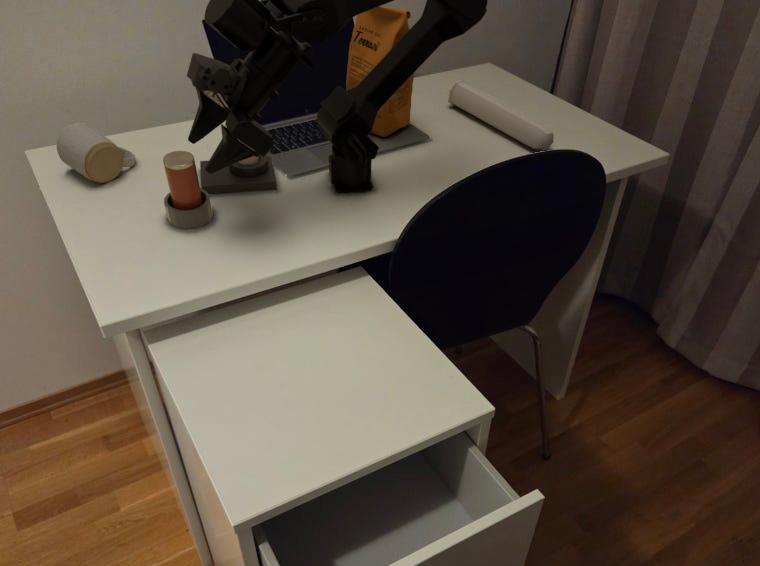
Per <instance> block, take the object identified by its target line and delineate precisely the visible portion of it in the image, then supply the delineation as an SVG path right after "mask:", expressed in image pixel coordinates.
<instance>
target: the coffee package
mask: <svg viewBox="0 0 760 566" xmlns="http://www.w3.org/2000/svg"><path fill="white" fill-rule="evenodd" d="M411 17H412V16H411V12H410V10H408V9H404V8H394V7H388V6H379V7H376V8H374V9H371V10H368V11H366V12H363V13H361V14H358V15H356V18H355V23H354V27H353V30H352V35H351V38H350V43H349V49H348V58H347V66H346V67H347V68H346V79H345V91H346V90H349V89H352V88H354V87H356V86H357V85H358V84H359V83H360V82H361V81H362V80H363V79H364V78H365V77H366V76H367V75H368V74H369V73H370V72H371V71H372V70H373V68H374V67H375V66H376V65H377V64H378V63H379V62H380V61H381V60H382V59H383V58H384V57H385V56H386V55H387V53H388V52H389V51H390V50H391V49H392V48H393V47H394V46H395V45H396V44H397V43H398V42H399V41H400V40H401V38H402V37H403V36H404V35H405V34H406V33H407V32H408V31H409V30H410V29H411V28H410V26H409V19H411ZM414 79H415V72H414V73H413V74H412V75H411V77H410V78H409V79H408V80H407V81H406V82H405V83H404V84H403V85H402V86H401V87H400V88H399V89H398V90H397V91H396V92H395V93H394V94H393V95H392V96H391V98H390V99H389V100H388V101H387V102H386V103H385V104H384V105H383V106H382V107H381V108H380V109H379V111H378V112H377V116H376V119H375V122H374V125H373V128H372V130H371V132H370V133H369V134H373V135H375V136H379V137H382V138H385V137H389V135H391V134H393V133H395V132H397V131H398V130H399V129H401V128H406V127H407V125H409V124H410V123H411V111H412V95H413V89H414V87H413V86H414V85H413V84H414V81H415V80H414Z"/></svg>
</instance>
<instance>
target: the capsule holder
mask: <svg viewBox="0 0 760 566" xmlns="http://www.w3.org/2000/svg"><path fill="white" fill-rule="evenodd" d="M200 191H201V196H202V202H203V205H202V206H200V207H198V208H195V209H192V210H178V209H175V208H174V206H173V202H172V198H171V193H170V192H168V193H167V194H166V195H165V197H164V198H163V206H164V209H165V214H166V217H167V221H168V222H169V223H170V225H172V226H173V227H174V228H177V229H181V230H194V229H199V228H203V227H204V226H206V225H208V224H209V223H210V222H211V221H212V219H213V217H214V213H213V212H214V211H213V207H212V200H211V194H208V193H207V192H206V191H205V190H202V188H200Z"/></svg>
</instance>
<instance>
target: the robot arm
mask: <svg viewBox="0 0 760 566" xmlns="http://www.w3.org/2000/svg"><path fill="white" fill-rule="evenodd" d="M394 1H395V0H209V1H208V3H207V4H206V8H205V11H204V22H205V23H206V24H207V25H209V26H210V27H211V28H212V29H213V30H214V31H215V32H217V33H218V34H219V35H220V36H222V37H223V38H224V39H225V40H226V41H227V42H229V44H231V45H232V46H233V47H235V48H236V49H237V50H238V51H239V52H246V51H249V53H248V54H247V55H246V56H245V58H244V59H241V58H240V57H237V58H234V60H233V61H232V62H231V63H230V64H227V63H226V62H223V61H220V60H218V59H215V58H212V57H209V56H206V55H204V54H201V53H196V52H193V53H192V55H191V58H190V62H189V65H188V70H187V73H186V77H187V78H188V79H190V81H191V85H192V86H193V87H194V88H195V91H196V94H197V99H198V107H197V110H196V113H195V117H194V119H193V122H192V125H191V127H190V128H191V129H190V131H189V134H188V137H187V140H188V142H189V143H191V144H192V145H195V144H197V143H198V142H200V141H201V140H202V139H204V138H205V137H206V136H207V135H209V134H210V133H212V132H213V131H214V130H216V129H217V128H218V127H219V126H220V129H221V130H220V131H221V137H222V138H221V139H220V142H219V143H218V145H217V147H216V148H215V150H214V152H213V153H212V155H211V157H210V158H209V159H208V161H209V162H208V164H207V166H206V168H205V170H206V171H207V172H209V173H210V174H212V173H215V172H217V171H219V170H221V169H223V168H225V167H228V166H230V165H232V164H234V163H237V162H239V161H242V160H245V159H247V158H250V157H253V156H255V157H259V156H260V155H261V156H263V157H266V155H267V156H268V154H269V153H270V152H271V150H272V149H273V148H274V142H273V137H272V136H271V134H270V133H269V132H268V131H267V129H266V128H265V127H264V126H263V125H262V124H260V122H261V121H262V119H263V117H262V115H260V112H261V111H262V110H263V108H264V107H265V106H266V105H267V103H268V102H269V101H270V99H272V100H273V101H274V102H276V101H277V100H278V99H279V98H280V96H281V95H280V94H279V93H278V92H277V90H278V89H279V87H280V86H281V85H282V84H283V82H284V81H285V80H286V79H287V77H288V76H289V74H290V73H291V72H292V70H294V68H295V67H296V66H297V64H298V63H299V62H300V61H301V62H302V63H303V64H304V65H305V66H306V67H308V69H313V68H314V67H315V66H314V59H313V47H312V46H311V45H310V44H313V45H315V44H319V43H322V42H324V41H326V40H327V39H328V38H331V37H332V36H333V35H335V34H336V33H338V32H340V31H341V30H342V29H343V28H344V26H345V25H346V24H347V23H348V22H349V21H350V20H351V19H353V18H355V17H357V15H358V14H361V13H363V12H366V11H368V10H371V9H374V8H376V7H379V6H380V7H382V6H384V5H386V4H389V3H391V2H394ZM488 1H489V0H426V2H425V4H424V7H423V11H422V13H421V17H420V18H419V19H418V20H417V21H416V22H415V23H414V25H412V26H411V27H410V28H409V29H410V30H409V31H408V32H407V33H406V34H405V35H404V36H403V37H402V38H401V40H400V41H399V42H398V43H397V44H396V45H395V46H394V47H393V48H392V49H391V50H390V51H389V52H388V53H387V55H386V56H385V57H384V58H383V59H382V60H381V61H380V62H379V63H378V64H377V65H376V66H375V67H374V68H373V70H372V71H371V72H370V73H369V74H368V75H367V76H366V77H365V78H364V79H363V80H362V81H361V82H360V83H359V84H358V85H357V86H356V87H354V88H352V89H349V90H346V89H344V88H343V87H342V86H341V85H337V86H336V87H335V88H334V89H333V90H332V91H331V94H330V95H329V96H328V97H327V98H325V100H322V101H321V102H320V105H321V107H320V109H319V110H318V112H317V113H316V124H317V128H318V130H319V131H320V132H321V134H322V135H323V136H324V137H325V138H326V139H327V140H328V142H329V143H330V144H331V154H329V155H328V178H329V181H330V184H331V185H333V188H334V191H335V193H336V194H343V193H357V192H370V191H373V190H374V185H373V183H372V162H373V161H372V160H375V159H376V158H377V154H378V151H379V149H380V147H379V145H378V144H376V143H375V141H374V140H373V139H372V138H371V137H370V136H369V135H370V134H371V133H370V132H371V130H372V128H373V125H374V122H375V119H376V116H377V112H378V111H379V109H380V108H381V107H382V106H383V105H384V104H385V103H386V102H387V101H388V100H389V99H390V98H391V96H392V95H393V94H394V93H395V92H396V91H397V90H398V89H399V88H400V87H401V86H402V85H403V84H404V83H405V82H406V81H407V80H408V79H409V78H410V77H411V75H412V74H413V73H414V74H415V73H416V72H417V70H418V69H419V68H420V67H421V66H422V65H423V64H424V63H425V62H426V61H427V60H428V59H429V58H430V57H431V56H432V55H433V54H434V52H435V51H436V50H437V49H438V48H439V47H440V46H441V45H443V44H444V43H445V42H447V41H450V40H453V39H455V38H457V37H458V38H459V37H460V36H462V35H465V34H466V33H467V32H468V31H469V30H471V29H472V28H474V26H476V25H477V24H479V22H481V21H482V19H483V18H484V17H485V15H486V13H487V11H488V10H487V6H488ZM273 24H274V25H275V26H276V27H277V28H278V29H279V30H280V31H276V30H275V29H274V28H272V26H273ZM294 36H295V37H299V38H300V39H301V40H303V41H305V42H299V40H297V39H296V38H295V37H294Z"/></svg>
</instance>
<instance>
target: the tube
mask: <svg viewBox="0 0 760 566" xmlns="http://www.w3.org/2000/svg"><path fill="white" fill-rule="evenodd" d="M447 102H448V103H449V104H451V106H453V107H458V108H459V109H461V110H463V111H464V112H466V113H468V114H470V115H472V116H473V117H475V118H477V119H479V120H481V121H483V122H484V123H486V124H488V125H489V126H491V127H493V128H495V129H496V130H498V131H500V132H502V133H504V134H505V135H507V136H509V137H510V138H513V139H514V140H516V141H518V142H520V143H521V144H522V145H524V146H526V147H528V148H530V149H532V150H534V151H536V152H537V153H539V152H538V151H544V150H545V151H546V150H548V149H549V148H550V147H551V146H552V145H553V144H554V138H555V137H554V135H555V134H554V131H553V130H552V129H551V128H550V126H548V125H546V124H544V123H542V122H540V121H538V120H537V119H534V118H533V117H531V116H529V115H527V114H526V113H523V112H522V111H520V110H519V109H516V108H514V107H513V106H510V105H509V104H508V103H505V102H503V101H502V100H499V99H498V98H496V97H493V96H492V95H489V94H488V93H486V92H484V91H483V90H480V89H479V88H476V87H475V86H473V85H471V84H469V83H467V81H466V80H464V79H459V80H456V81H454V83H453V84H452V86H451V88H450V89H449V93H448V100H447ZM545 151H544V152H545Z"/></svg>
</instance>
